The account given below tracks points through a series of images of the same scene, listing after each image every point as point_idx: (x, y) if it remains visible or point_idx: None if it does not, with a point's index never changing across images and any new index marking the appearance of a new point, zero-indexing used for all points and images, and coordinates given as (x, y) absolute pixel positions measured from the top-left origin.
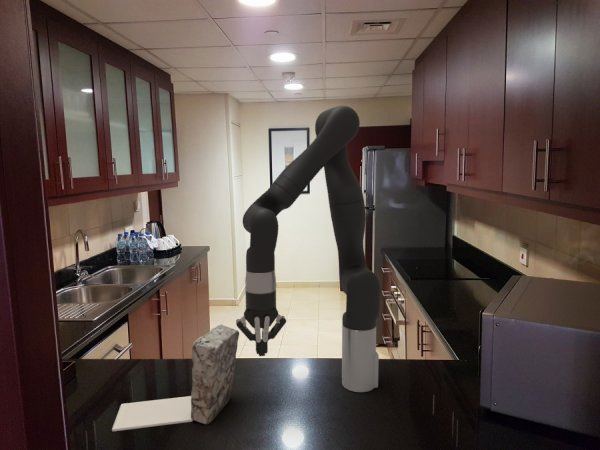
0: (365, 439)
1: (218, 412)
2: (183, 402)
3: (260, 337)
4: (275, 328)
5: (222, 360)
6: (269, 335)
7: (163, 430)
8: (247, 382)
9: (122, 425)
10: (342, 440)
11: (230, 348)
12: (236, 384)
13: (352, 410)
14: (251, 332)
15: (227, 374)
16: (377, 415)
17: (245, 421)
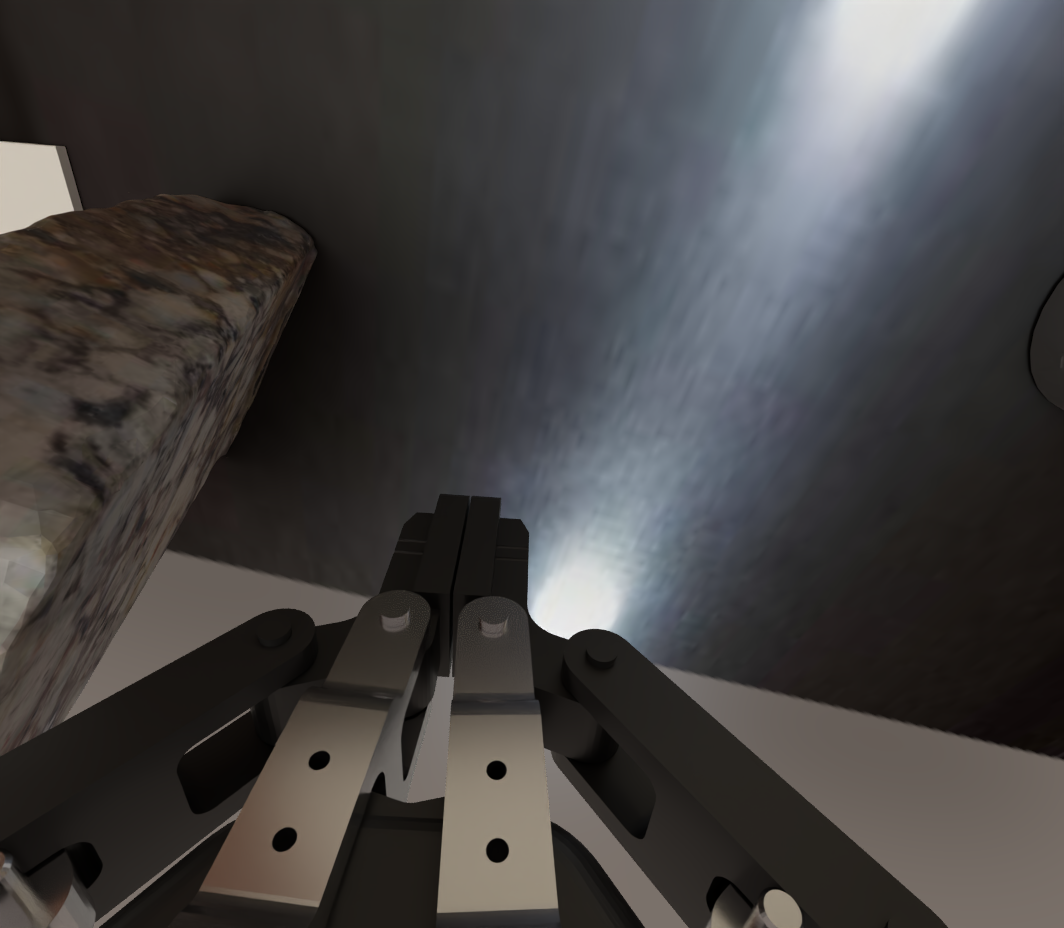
0: (813, 680)
1: (258, 375)
2: (13, 221)
3: (418, 741)
4: (646, 866)
5: (80, 668)
6: (548, 740)
7: None
8: (440, 18)
9: None
10: (736, 666)
11: (86, 615)
12: (352, 26)
13: (900, 531)
14: (276, 674)
15: (208, 428)
16: (968, 588)
17: (398, 476)
